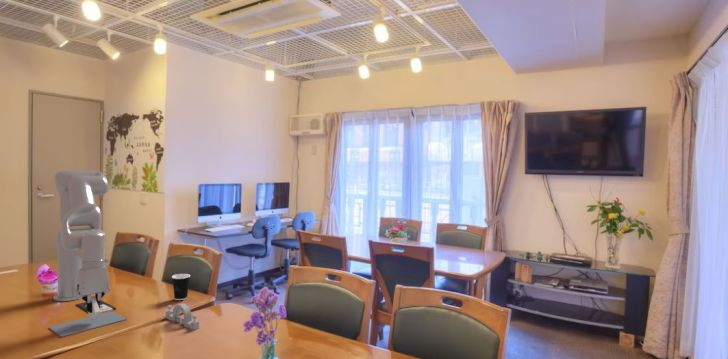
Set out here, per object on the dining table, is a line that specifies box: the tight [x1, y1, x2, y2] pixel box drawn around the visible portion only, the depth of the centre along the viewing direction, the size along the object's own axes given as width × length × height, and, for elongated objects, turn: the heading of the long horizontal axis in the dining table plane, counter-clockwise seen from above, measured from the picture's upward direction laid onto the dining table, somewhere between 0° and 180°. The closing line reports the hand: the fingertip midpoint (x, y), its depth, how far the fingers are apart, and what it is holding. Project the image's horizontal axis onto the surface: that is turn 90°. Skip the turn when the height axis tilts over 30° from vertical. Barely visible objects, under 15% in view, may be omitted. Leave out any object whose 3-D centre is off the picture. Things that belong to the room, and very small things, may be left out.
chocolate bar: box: [75, 299, 117, 314], centre depth 176 cm, size 9×1×18 cm
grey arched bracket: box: [165, 303, 200, 331], centre depth 161 cm, size 20×2×8 cm, turn 55°
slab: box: [87, 295, 100, 321], centre depth 158 cm, size 7×2×6 cm
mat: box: [48, 310, 128, 338], centre depth 158 cm, size 13×22×1 cm, turn 144°
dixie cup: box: [171, 273, 191, 301], centre depth 189 cm, size 8×8×11 cm
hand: (93, 311), depth 158 cm, fingers closed on slab, 1 cm apart
